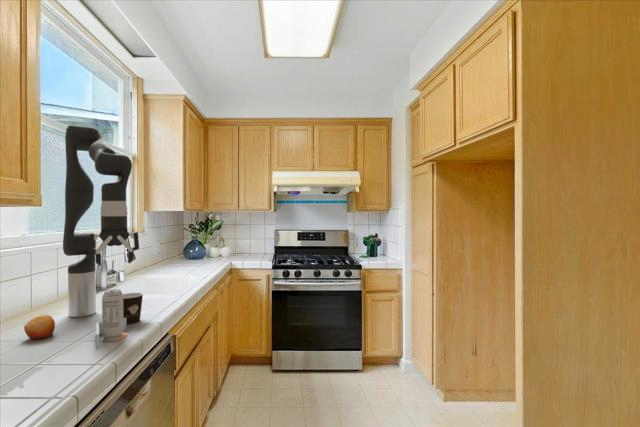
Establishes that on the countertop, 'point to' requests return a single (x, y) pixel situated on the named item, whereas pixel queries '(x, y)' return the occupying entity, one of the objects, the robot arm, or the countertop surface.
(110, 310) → the energy drink can
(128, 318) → the coffee mug
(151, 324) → the countertop surface
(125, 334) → the pad
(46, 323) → the fruit
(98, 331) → the acrylic fence
